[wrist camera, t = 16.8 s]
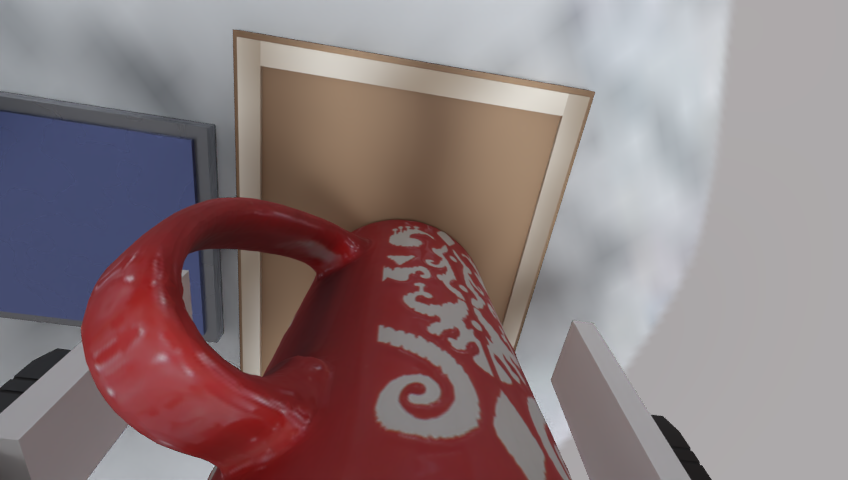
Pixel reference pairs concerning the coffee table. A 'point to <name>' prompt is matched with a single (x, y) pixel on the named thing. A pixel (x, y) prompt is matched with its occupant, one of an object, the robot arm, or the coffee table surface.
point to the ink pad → (95, 202)
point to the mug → (322, 357)
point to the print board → (396, 165)
